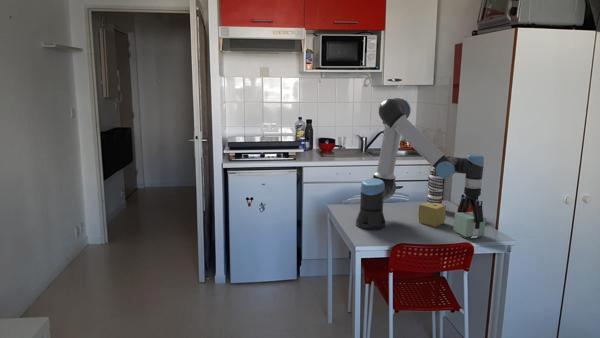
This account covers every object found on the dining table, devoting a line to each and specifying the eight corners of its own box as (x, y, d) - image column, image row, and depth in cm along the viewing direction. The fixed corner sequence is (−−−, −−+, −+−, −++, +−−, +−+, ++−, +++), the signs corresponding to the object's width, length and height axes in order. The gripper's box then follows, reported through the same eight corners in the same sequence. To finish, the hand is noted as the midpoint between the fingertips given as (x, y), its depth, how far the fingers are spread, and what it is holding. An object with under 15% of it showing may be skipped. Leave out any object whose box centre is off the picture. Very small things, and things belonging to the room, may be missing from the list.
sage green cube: (465, 236, 214) (466, 219, 213) (453, 229, 224) (454, 212, 222) (484, 235, 217) (485, 217, 215) (471, 228, 226) (473, 211, 225)
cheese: (427, 218, 246) (429, 200, 244) (445, 223, 239) (447, 205, 237) (417, 222, 239) (418, 204, 237) (435, 227, 232) (437, 208, 230)
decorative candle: (428, 211, 259) (432, 168, 254) (423, 207, 268) (426, 165, 263) (444, 211, 260) (448, 169, 255) (438, 207, 269) (442, 166, 264)
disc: (464, 239, 215) (464, 239, 215) (453, 232, 224) (453, 232, 224) (483, 238, 217) (483, 237, 217) (471, 231, 226) (471, 231, 226)
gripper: (494, 192, 206) (489, 238, 210) (466, 181, 228) (462, 223, 232) (480, 193, 204) (475, 239, 208) (452, 181, 226) (449, 224, 230)
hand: (468, 231), depth 220 cm, fingers closed on sage green cube, 10 cm apart
